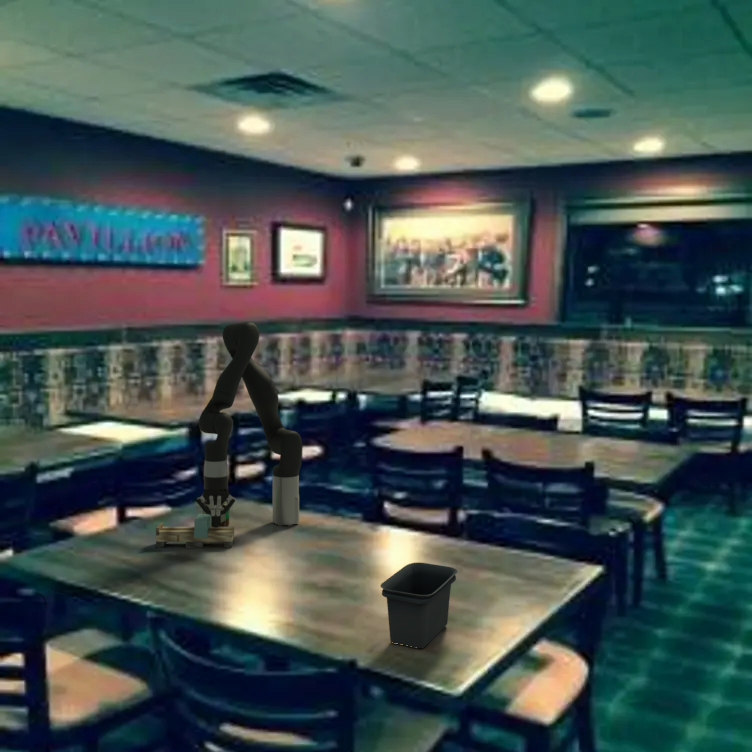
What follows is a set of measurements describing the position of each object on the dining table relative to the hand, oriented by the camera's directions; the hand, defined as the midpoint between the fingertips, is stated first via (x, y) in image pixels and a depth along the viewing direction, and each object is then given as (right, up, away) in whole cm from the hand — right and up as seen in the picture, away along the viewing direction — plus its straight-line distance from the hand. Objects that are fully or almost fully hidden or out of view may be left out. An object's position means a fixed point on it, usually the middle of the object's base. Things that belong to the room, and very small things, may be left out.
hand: (216, 526), depth 273 cm
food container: (-2, -4, +21) cm, 21 cm away
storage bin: (+61, -14, -69) cm, 93 cm away
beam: (-7, -6, +1) cm, 9 cm away
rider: (-4, -2, 0) cm, 5 cm away
